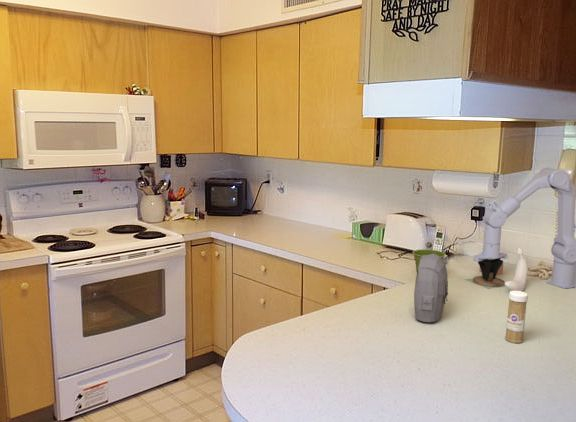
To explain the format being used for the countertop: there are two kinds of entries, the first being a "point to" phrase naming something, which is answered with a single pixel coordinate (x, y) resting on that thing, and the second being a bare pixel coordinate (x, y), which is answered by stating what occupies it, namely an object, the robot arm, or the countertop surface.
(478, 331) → the countertop surface
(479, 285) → the mat
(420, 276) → the soft grey pack
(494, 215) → the robot arm
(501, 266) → the bowl
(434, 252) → the plant pot
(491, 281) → the lid
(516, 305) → the sprinkles bottle
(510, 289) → the white curved piece
